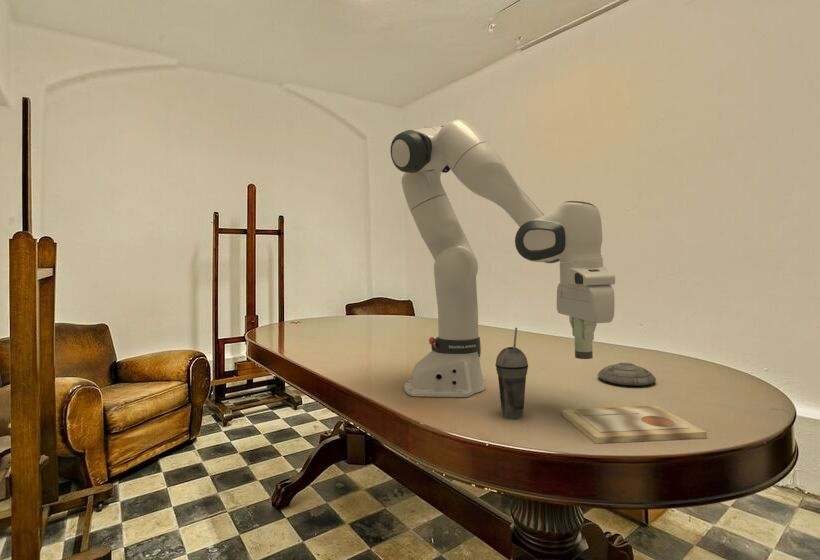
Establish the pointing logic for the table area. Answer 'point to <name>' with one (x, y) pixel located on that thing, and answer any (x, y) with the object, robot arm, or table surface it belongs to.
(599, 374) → the flying saucer
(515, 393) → the beverage cup
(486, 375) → the table surface
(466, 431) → the table surface
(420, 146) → the robot arm
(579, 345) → the cylinder
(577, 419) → the sketch board
